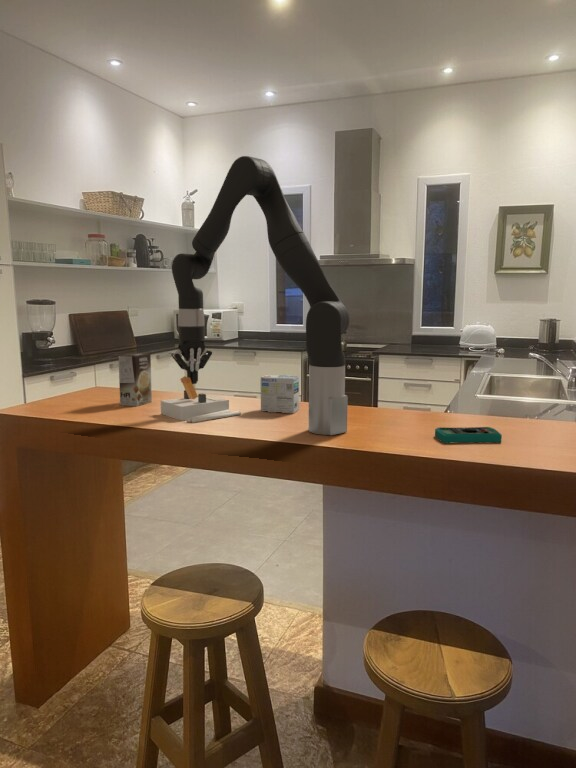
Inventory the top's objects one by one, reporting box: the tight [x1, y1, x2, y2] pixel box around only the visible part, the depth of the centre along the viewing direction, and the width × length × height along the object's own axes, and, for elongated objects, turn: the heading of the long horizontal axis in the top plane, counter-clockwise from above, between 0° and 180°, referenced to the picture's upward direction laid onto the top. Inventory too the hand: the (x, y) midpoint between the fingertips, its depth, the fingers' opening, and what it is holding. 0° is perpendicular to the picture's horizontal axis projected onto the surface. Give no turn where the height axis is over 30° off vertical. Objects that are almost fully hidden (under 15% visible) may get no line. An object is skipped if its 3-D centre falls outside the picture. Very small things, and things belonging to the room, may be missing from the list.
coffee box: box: [118, 352, 153, 407], centre depth 183 cm, size 9×6×16 cm
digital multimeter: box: [434, 426, 502, 444], centre depth 139 cm, size 7×15×3 cm, turn 94°
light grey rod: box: [192, 410, 242, 424], centre depth 161 cm, size 1×16×1 cm, turn 131°
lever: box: [180, 376, 198, 399], centre depth 166 cm, size 3×2×7 cm, turn 41°
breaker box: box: [160, 389, 230, 421], centre depth 168 cm, size 12×16×6 cm
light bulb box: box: [260, 374, 300, 414], centre depth 172 cm, size 11×7×11 cm, turn 76°
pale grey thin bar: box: [185, 408, 231, 423], centre depth 163 cm, size 1×16×1 cm, turn 141°
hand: (192, 383), depth 167 cm, fingers closed
